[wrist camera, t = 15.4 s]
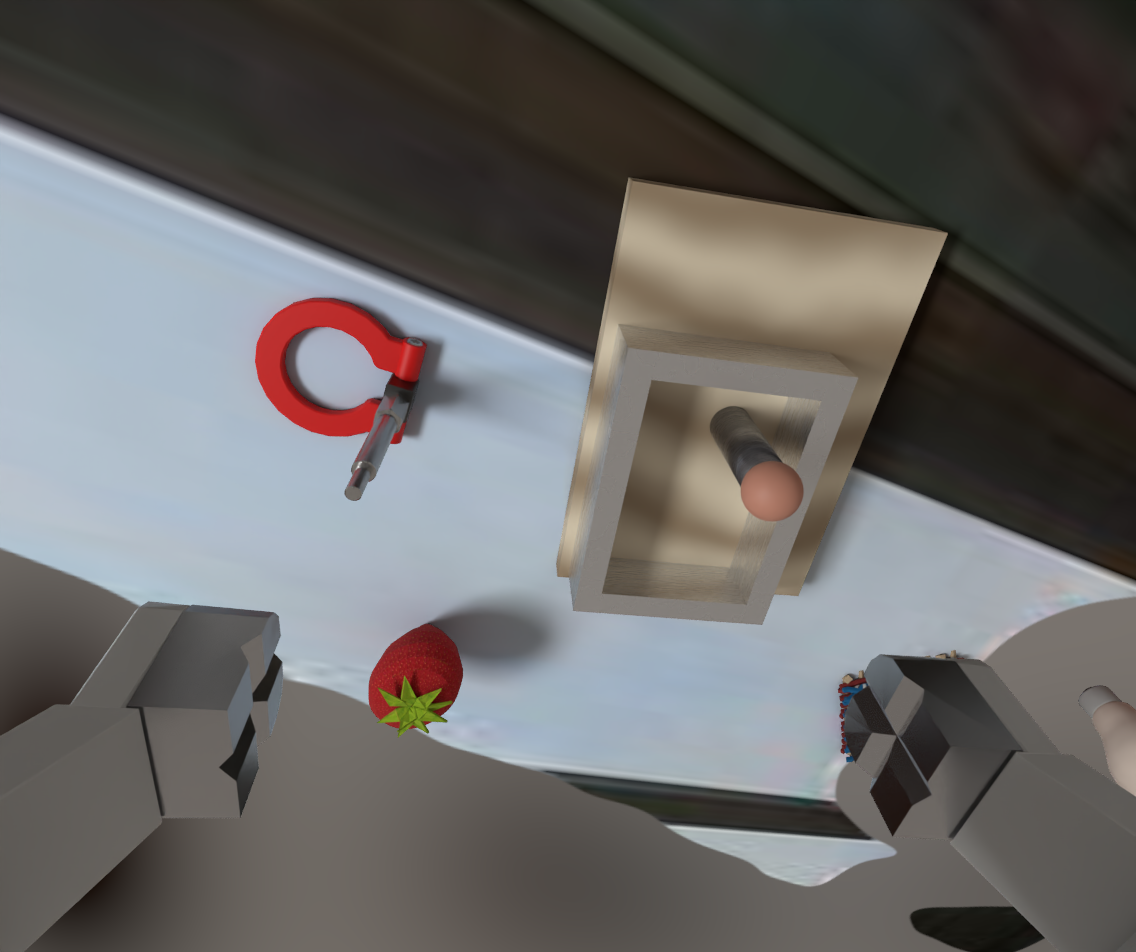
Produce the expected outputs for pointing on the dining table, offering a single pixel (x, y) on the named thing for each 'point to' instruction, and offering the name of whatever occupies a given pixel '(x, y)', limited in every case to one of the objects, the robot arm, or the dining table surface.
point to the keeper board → (755, 314)
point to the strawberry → (416, 679)
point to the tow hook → (371, 416)
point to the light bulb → (1114, 732)
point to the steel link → (763, 545)
